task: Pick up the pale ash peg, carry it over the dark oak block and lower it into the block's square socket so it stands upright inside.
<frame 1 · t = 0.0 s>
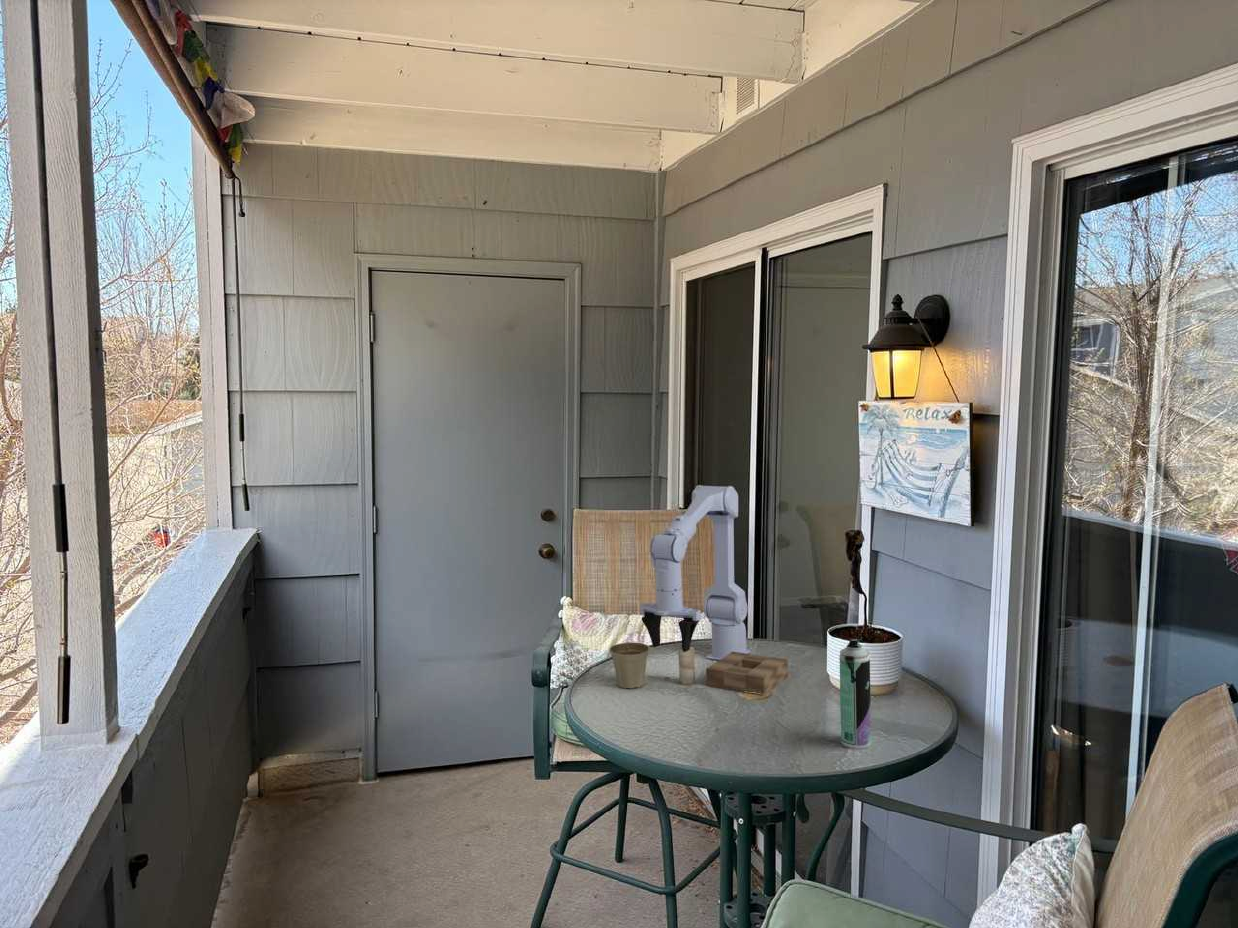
hand: (671, 648, 189), 10 cm above the table, tool pointing down, fingers open, 7 cm apart
spray can: (856, 744, 159), on the table
peg: (687, 682, 195), on the table
socket block: (747, 680, 195), on the table
flower pot: (631, 685, 196), on the table
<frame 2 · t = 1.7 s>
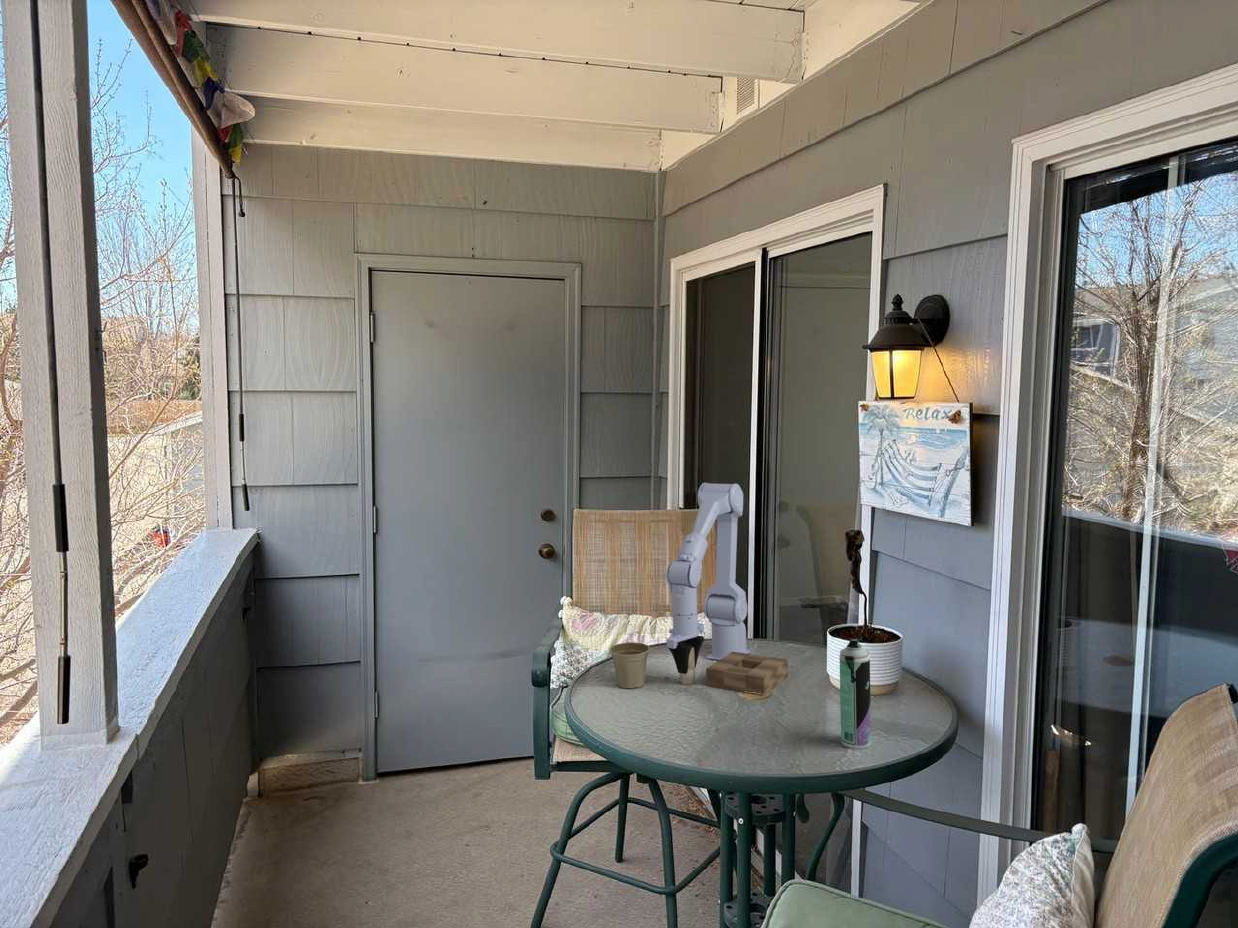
hand: (687, 670, 195), 3 cm above the table, tool pointing down, fingers closed on peg, 4 cm apart
peg: (687, 682, 195), on the table, touching gripper
everything else where it was.
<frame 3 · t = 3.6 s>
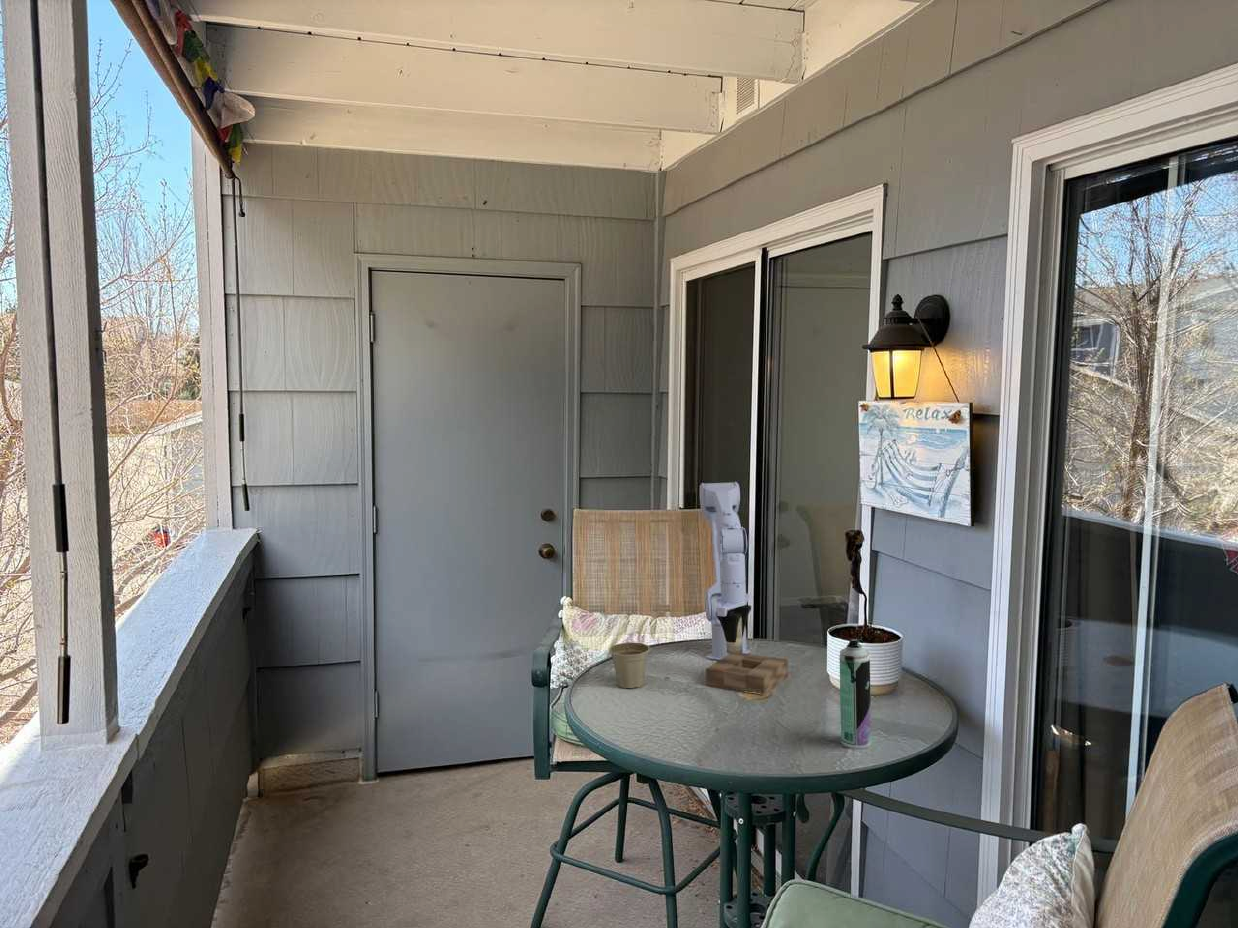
hand: (734, 639, 194), 10 cm above the table, tool pointing down, fingers closed on peg, 4 cm apart
peg: (734, 651, 194), point 7 cm above the table, touching gripper
everything else where it was.
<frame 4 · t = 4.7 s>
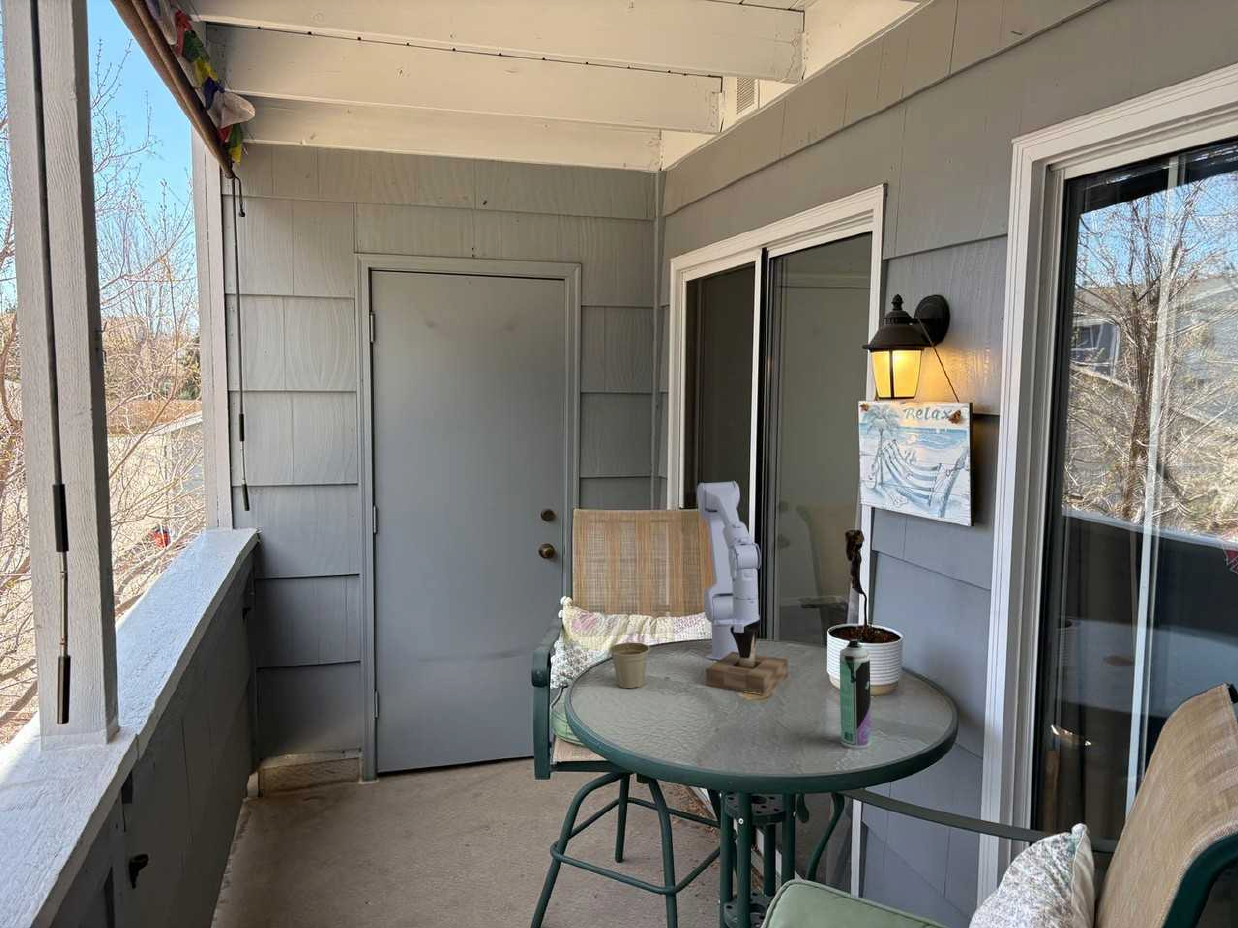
hand: (747, 654, 194), 6 cm above the table, tool pointing down, fingers closed on peg, 4 cm apart
peg: (747, 667, 194), point 3 cm above the table, touching gripper
everything else where it was.
when the fingers open (5 cm above the table, at t = 5.4 s): peg stays where it is, resting on socket block.
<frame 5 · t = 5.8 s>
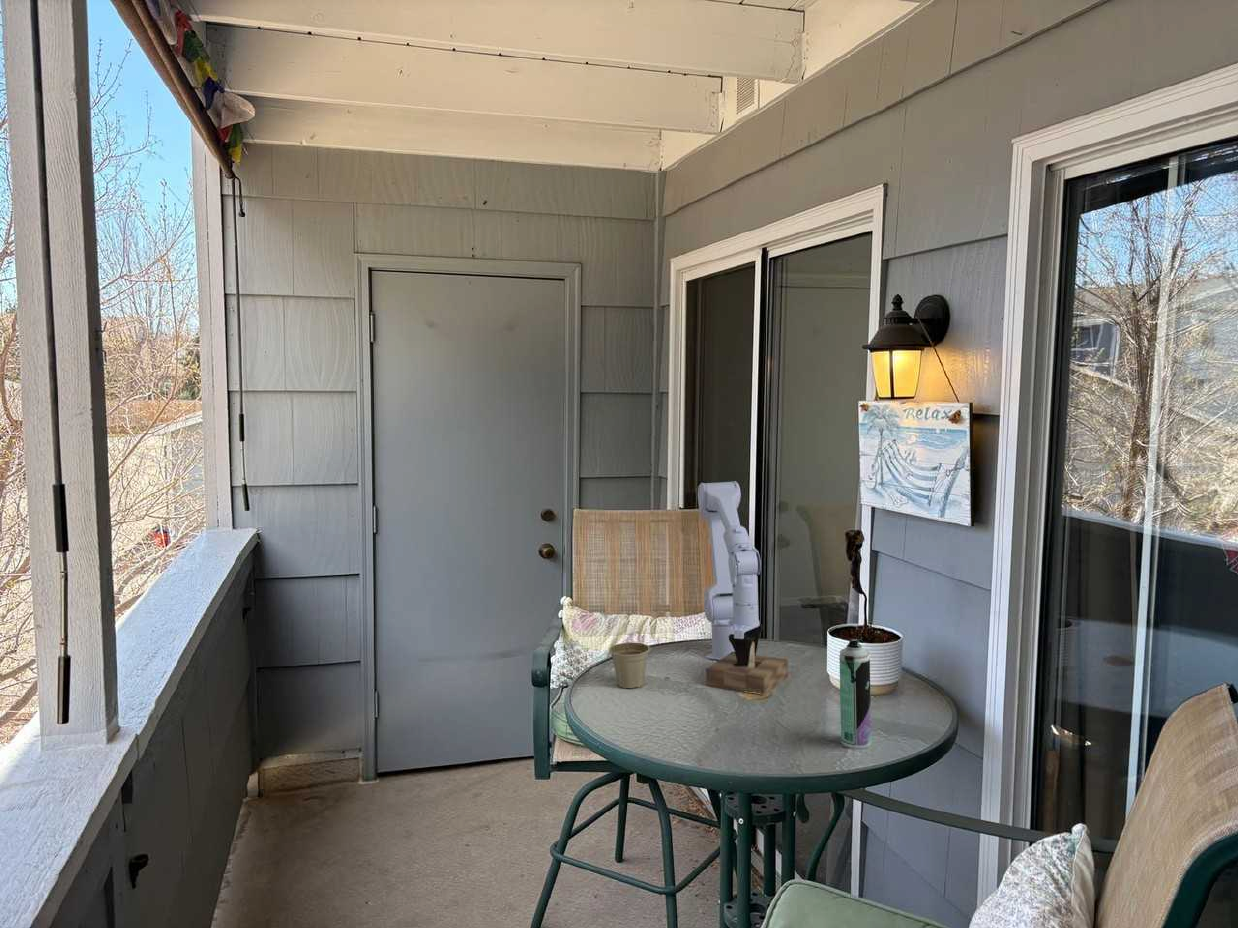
hand: (747, 660, 194), 5 cm above the table, tool pointing down, fingers open, 7 cm apart
peg: (747, 676, 195), point 1 cm above the table, touching socket block
everything else where it was.
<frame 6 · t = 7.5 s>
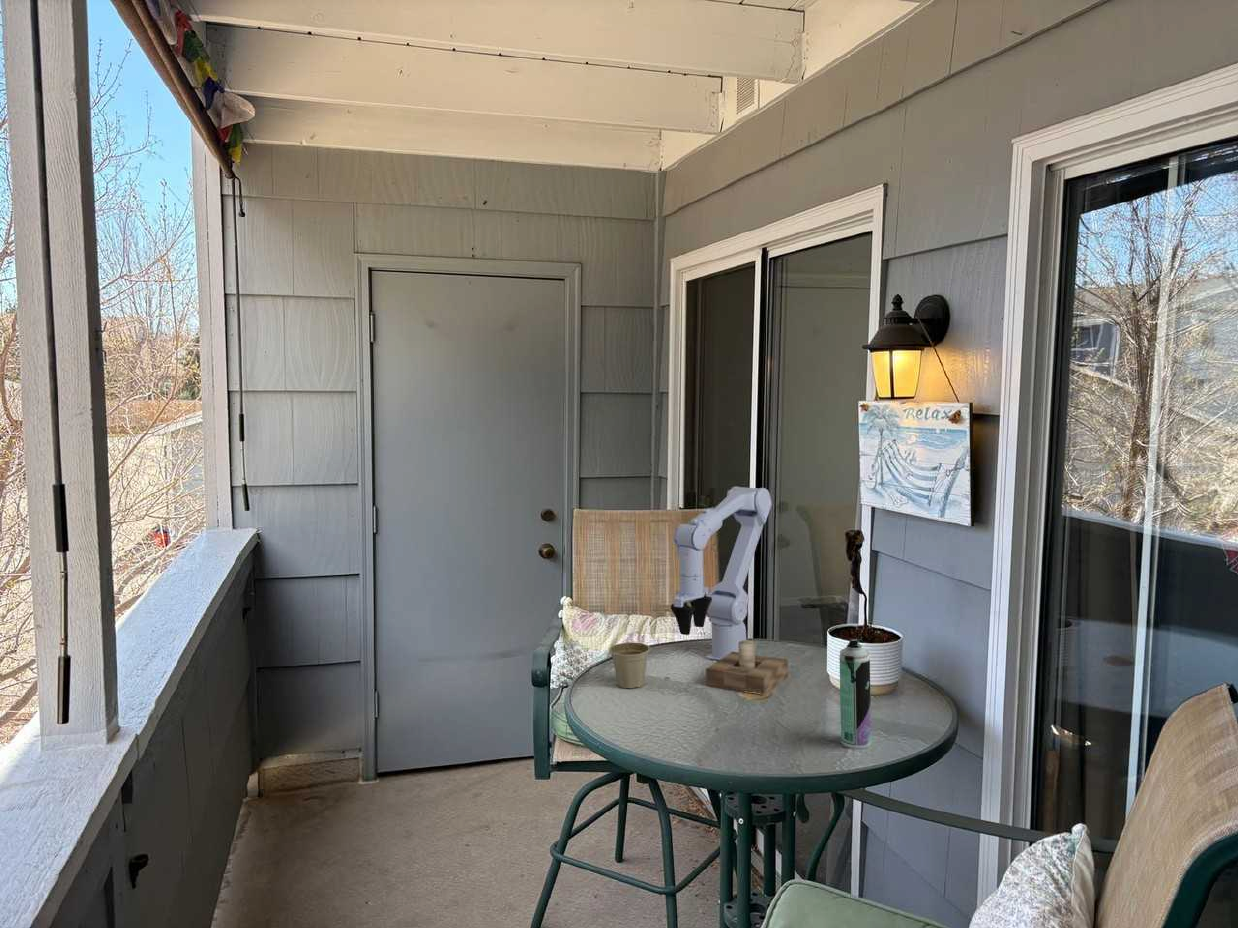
hand: (692, 630, 202), 10 cm above the table, tool pointing down, fingers open, 7 cm apart
nothing on the table moved.
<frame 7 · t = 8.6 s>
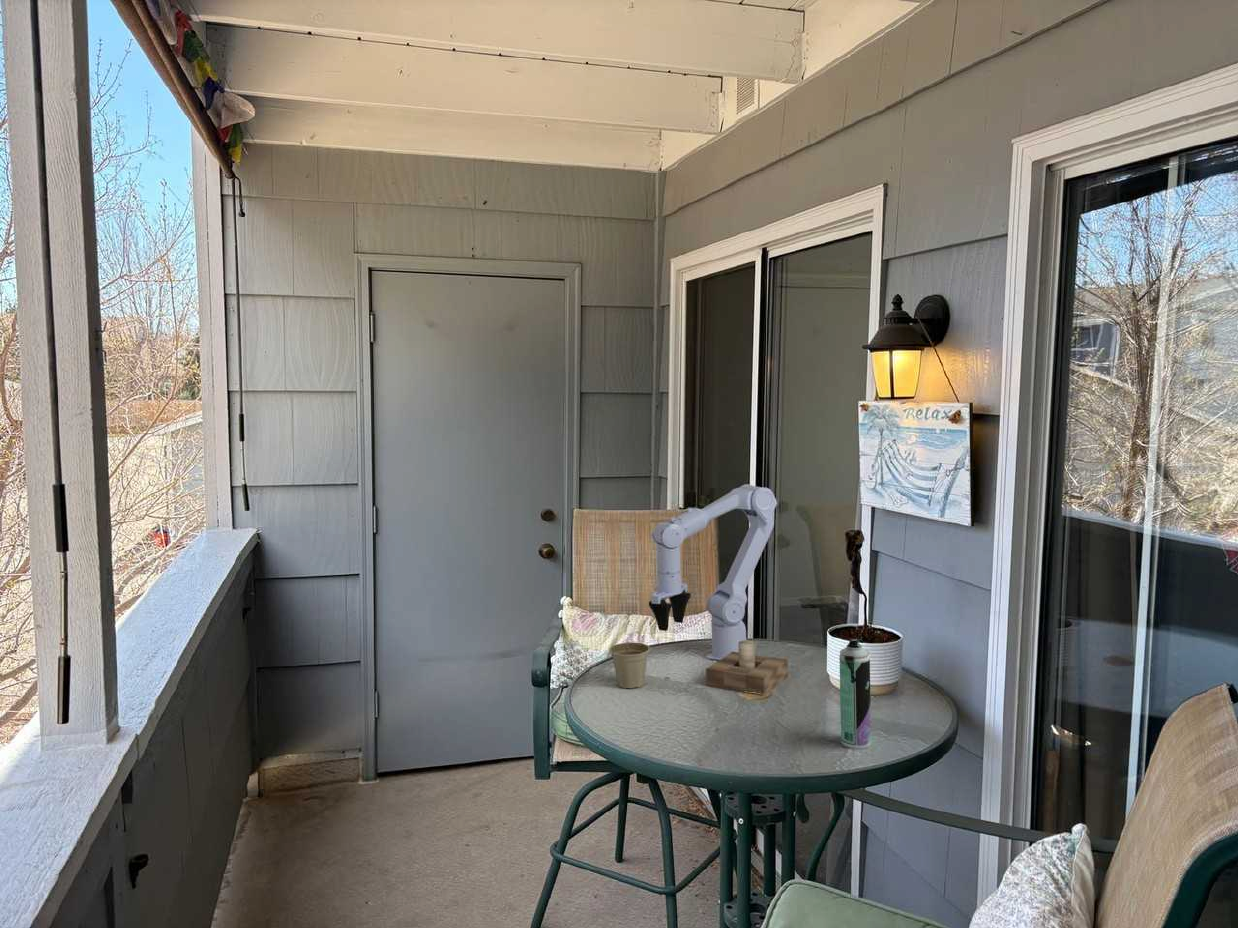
hand: (671, 626, 207), 10 cm above the table, tool pointing down, fingers open, 7 cm apart
nothing on the table moved.
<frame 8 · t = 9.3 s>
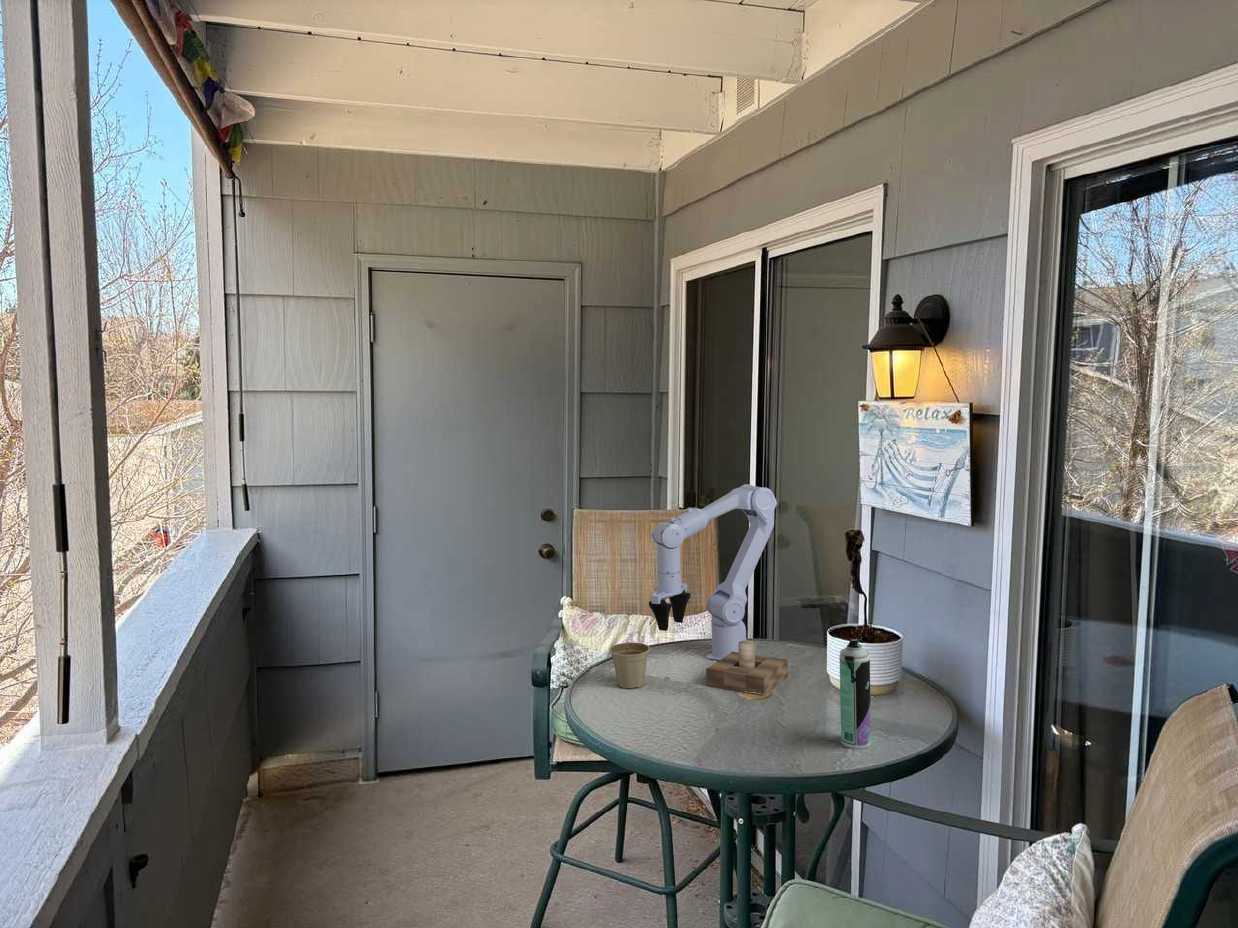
hand: (671, 626, 207), 10 cm above the table, tool pointing down, fingers open, 7 cm apart
nothing on the table moved.
at the end: peg 0.1 cm off-centre on the socket block, point 1.0 cm above the socket block's base; peg tilted 0°; the gripper is holding nothing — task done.
